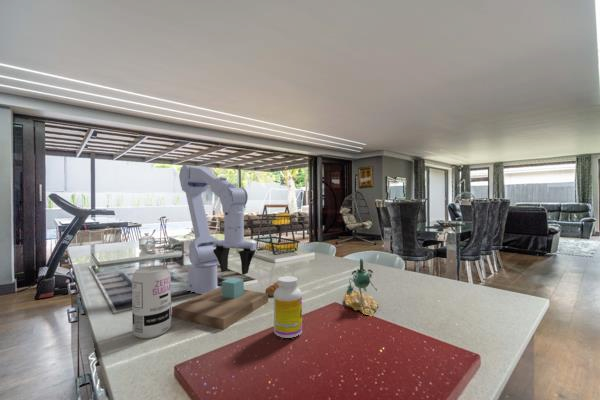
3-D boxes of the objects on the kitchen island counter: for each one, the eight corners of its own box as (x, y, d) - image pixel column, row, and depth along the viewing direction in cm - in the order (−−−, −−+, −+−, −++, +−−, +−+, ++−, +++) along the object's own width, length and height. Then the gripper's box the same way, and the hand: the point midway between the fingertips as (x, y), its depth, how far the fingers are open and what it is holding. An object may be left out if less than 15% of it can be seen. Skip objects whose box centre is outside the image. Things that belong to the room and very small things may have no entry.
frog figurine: (368, 293, 94) (369, 250, 92) (386, 324, 76) (389, 270, 74) (339, 294, 94) (340, 250, 92) (351, 324, 76) (353, 271, 74)
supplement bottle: (305, 338, 64) (304, 281, 64) (275, 341, 63) (275, 284, 63) (298, 325, 71) (298, 274, 71) (272, 328, 70) (271, 275, 69)
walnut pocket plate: (171, 316, 77) (171, 307, 77) (222, 293, 95) (222, 285, 95) (223, 329, 69) (223, 319, 69) (268, 301, 87) (268, 293, 87)
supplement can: (142, 324, 72) (141, 265, 72) (176, 323, 73) (175, 264, 73) (125, 340, 64) (124, 274, 64) (163, 338, 65) (162, 273, 65)
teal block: (222, 304, 85) (221, 281, 85) (232, 299, 89) (231, 277, 89) (234, 307, 83) (234, 283, 83) (243, 302, 87) (243, 279, 87)
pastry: (272, 299, 90) (272, 287, 90) (261, 294, 95) (260, 282, 95) (295, 292, 96) (295, 281, 96) (283, 288, 101) (283, 277, 101)
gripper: (205, 227, 85) (206, 273, 85) (246, 229, 79) (247, 278, 79) (221, 225, 92) (221, 267, 92) (260, 227, 86) (260, 272, 86)
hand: (234, 272), depth 86 cm, fingers open, 7 cm apart
